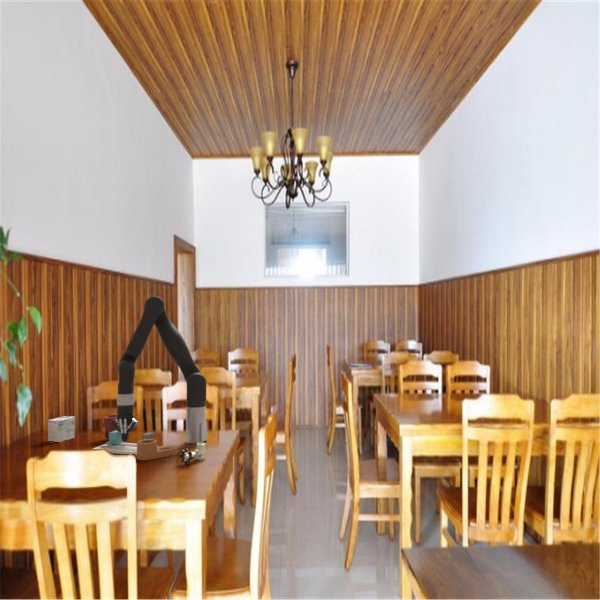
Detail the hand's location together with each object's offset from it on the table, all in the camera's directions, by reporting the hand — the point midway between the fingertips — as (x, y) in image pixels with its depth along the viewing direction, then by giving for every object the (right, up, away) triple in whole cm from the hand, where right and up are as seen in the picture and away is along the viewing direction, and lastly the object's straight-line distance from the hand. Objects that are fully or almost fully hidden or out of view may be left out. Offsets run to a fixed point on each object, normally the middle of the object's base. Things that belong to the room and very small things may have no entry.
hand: (125, 441), depth 226 cm
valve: (+37, -3, -22) cm, 43 cm away
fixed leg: (+11, -1, -5) cm, 12 cm away
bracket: (+19, -3, -13) cm, 23 cm away
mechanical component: (-12, -4, +15) cm, 20 cm away
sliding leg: (-5, -1, -1) cm, 5 cm away
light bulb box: (-37, -4, +15) cm, 40 cm away
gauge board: (+2, -3, -3) cm, 5 cm away
